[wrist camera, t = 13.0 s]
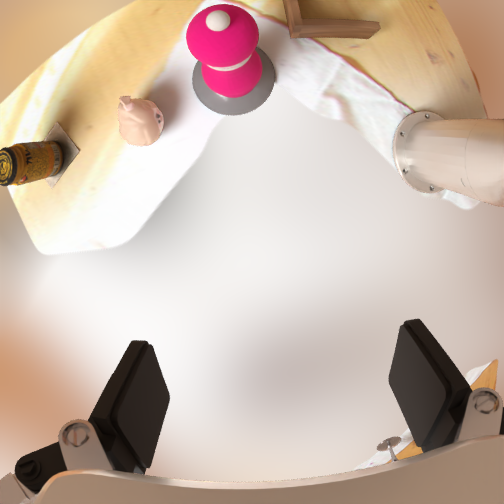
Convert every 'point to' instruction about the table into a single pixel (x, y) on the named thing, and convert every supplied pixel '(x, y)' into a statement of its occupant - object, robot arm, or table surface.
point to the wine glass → (389, 446)
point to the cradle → (326, 25)
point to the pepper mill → (226, 49)
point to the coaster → (240, 103)
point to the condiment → (37, 159)
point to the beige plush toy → (139, 121)
